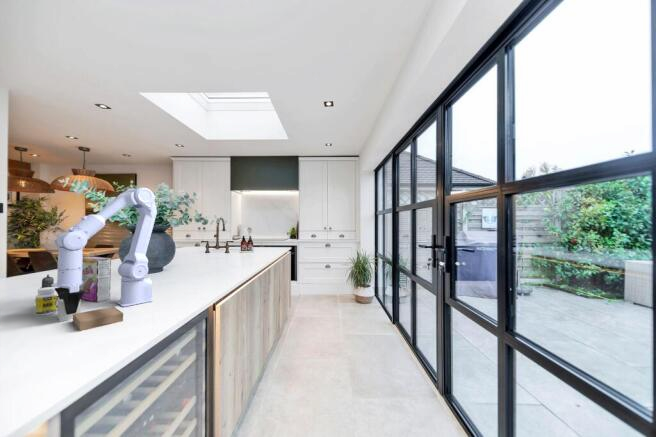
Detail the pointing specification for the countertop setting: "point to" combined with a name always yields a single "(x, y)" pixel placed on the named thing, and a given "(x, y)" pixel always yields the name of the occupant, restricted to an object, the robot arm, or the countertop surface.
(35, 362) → the countertop surface
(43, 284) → the salt shaker
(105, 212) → the robot arm
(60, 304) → the white small block
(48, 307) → the supplement bottle
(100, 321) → the walnut block
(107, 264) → the candy bar box
